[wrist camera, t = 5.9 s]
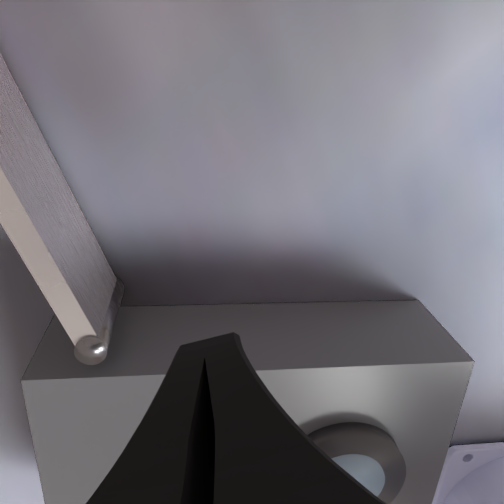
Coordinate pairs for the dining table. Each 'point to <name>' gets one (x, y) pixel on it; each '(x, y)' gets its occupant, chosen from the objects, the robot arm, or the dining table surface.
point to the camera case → (275, 379)
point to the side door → (53, 230)
